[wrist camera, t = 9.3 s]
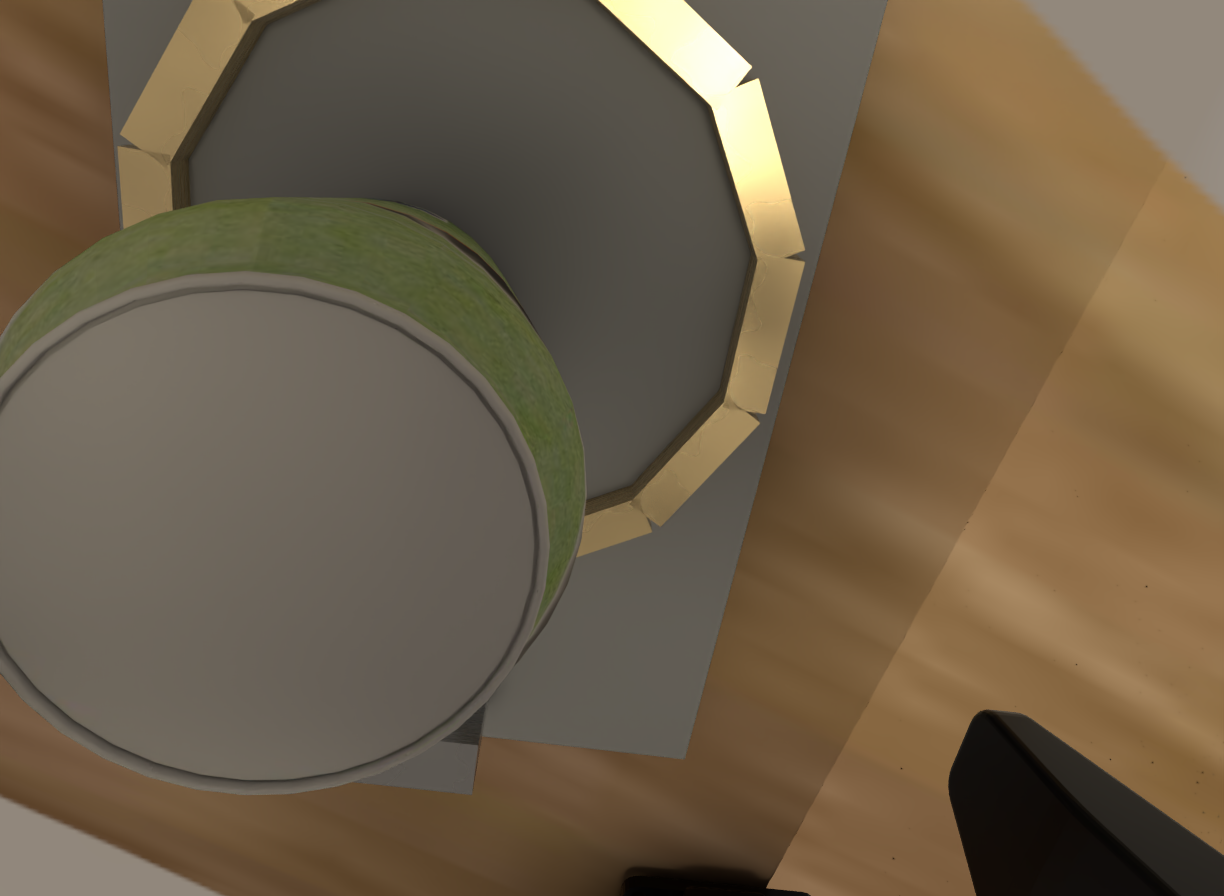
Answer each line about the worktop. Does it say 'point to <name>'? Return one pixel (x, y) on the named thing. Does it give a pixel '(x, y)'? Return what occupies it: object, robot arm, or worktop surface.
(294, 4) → the tan curved band
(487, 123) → the base
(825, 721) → the worktop surface
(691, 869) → the worktop surface
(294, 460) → the beverage can
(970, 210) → the worktop surface
